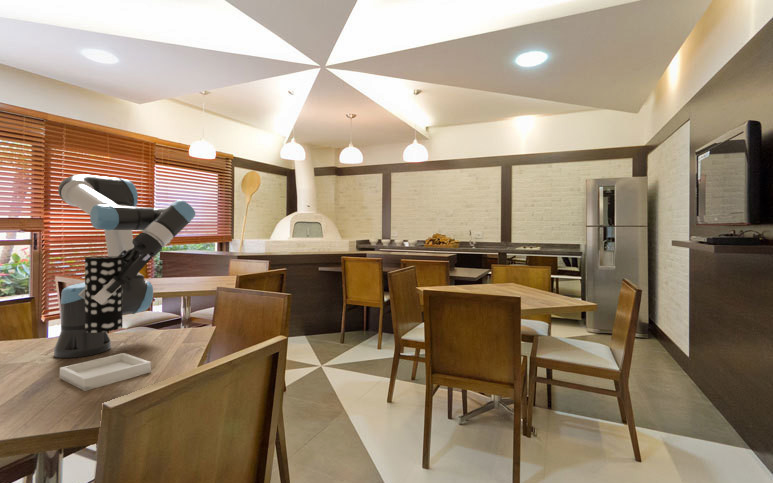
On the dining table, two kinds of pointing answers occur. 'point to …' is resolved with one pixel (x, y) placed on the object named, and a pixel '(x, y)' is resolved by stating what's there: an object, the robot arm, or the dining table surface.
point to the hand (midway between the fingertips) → (89, 299)
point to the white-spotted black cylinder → (96, 278)
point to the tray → (104, 371)
